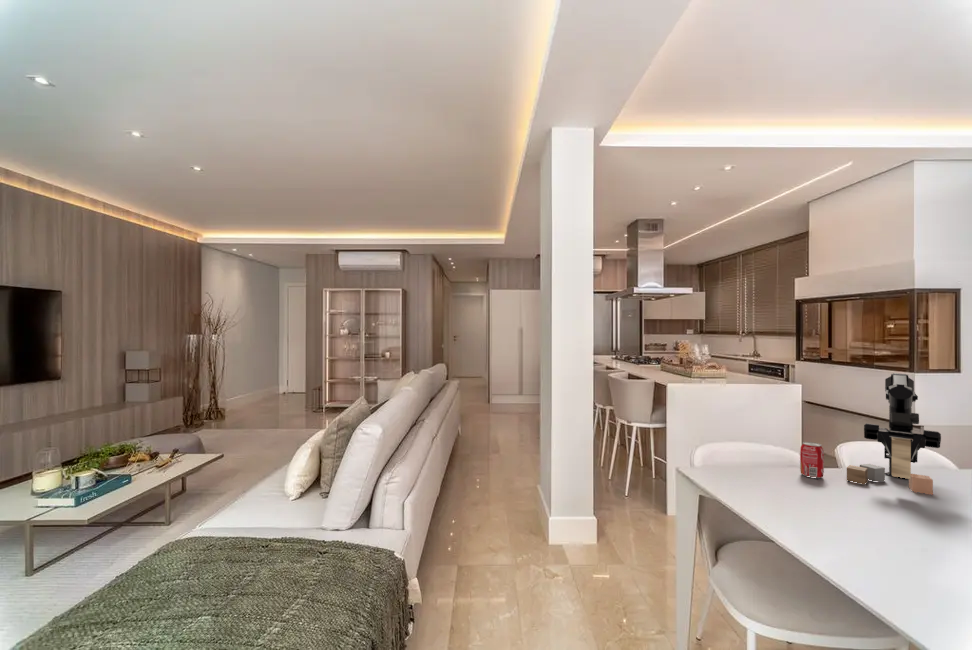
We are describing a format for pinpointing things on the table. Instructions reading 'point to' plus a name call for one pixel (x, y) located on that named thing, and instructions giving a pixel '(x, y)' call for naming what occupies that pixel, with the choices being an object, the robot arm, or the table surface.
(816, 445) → the soda can
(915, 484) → the terracotta block
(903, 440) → the tall oak block
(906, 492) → the table surface
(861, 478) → the walnut block
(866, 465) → the slate grey block
